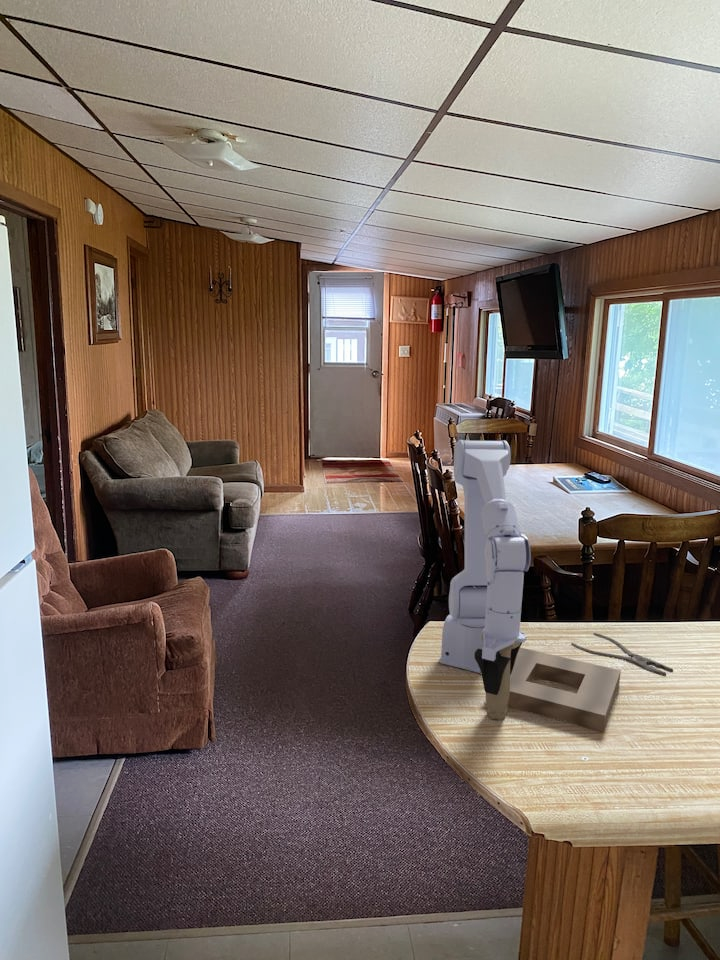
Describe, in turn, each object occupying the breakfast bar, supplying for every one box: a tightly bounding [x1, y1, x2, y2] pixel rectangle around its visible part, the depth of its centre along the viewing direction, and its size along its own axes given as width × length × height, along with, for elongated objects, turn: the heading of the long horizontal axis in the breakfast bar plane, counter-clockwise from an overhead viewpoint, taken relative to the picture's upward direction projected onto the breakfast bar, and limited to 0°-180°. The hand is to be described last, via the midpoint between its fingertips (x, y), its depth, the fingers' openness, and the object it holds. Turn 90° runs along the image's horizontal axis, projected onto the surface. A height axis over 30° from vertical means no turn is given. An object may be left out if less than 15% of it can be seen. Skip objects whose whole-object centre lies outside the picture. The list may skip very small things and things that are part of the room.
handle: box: [482, 631, 521, 721], centre depth 119 cm, size 5×6×15 cm
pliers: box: [570, 632, 674, 677], centre depth 145 cm, size 10×1×20 cm
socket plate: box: [507, 647, 622, 733], centre depth 128 cm, size 20×18×3 cm
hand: (498, 682), depth 119 cm, fingers open, 7 cm apart
